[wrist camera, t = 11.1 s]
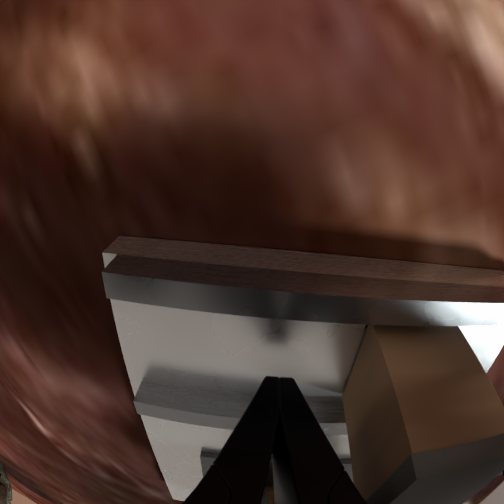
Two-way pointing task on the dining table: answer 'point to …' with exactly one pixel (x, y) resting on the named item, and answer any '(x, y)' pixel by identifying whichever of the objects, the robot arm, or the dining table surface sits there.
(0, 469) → the hollow geode rock
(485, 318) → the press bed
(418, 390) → the brown block
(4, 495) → the pneumatic valve
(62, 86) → the dining table surface
